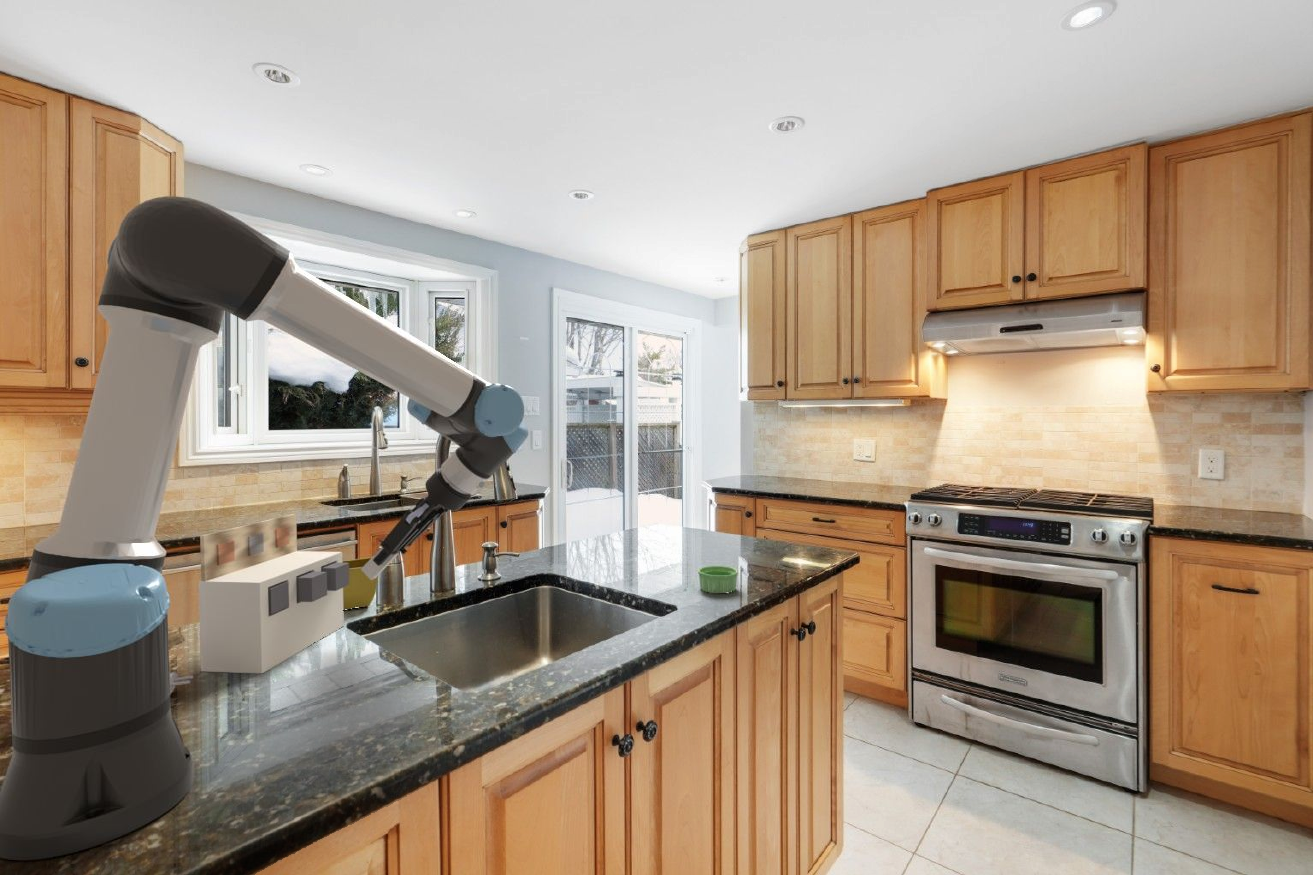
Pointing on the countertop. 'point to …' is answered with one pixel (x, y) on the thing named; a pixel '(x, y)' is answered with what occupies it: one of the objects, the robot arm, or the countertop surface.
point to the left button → (278, 597)
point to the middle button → (311, 586)
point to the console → (263, 615)
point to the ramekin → (718, 579)
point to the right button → (336, 575)
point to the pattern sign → (247, 546)
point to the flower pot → (358, 585)
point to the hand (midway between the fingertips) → (368, 573)
